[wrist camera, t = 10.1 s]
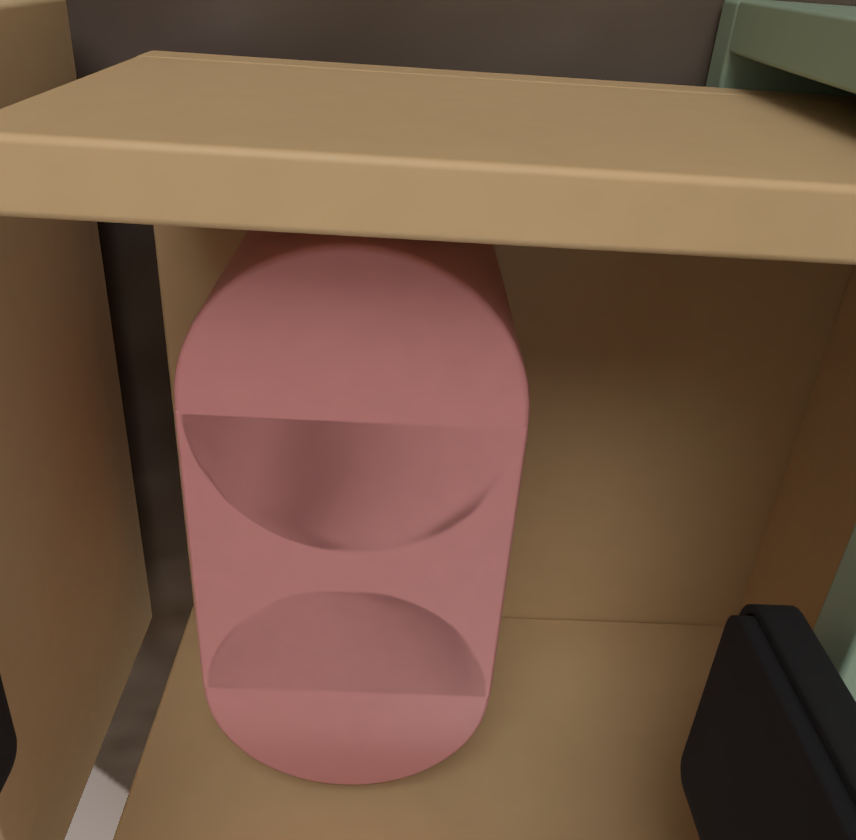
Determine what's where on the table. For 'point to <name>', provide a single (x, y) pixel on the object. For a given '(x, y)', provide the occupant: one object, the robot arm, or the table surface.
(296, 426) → the pink notched rounded block
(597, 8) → the table surface
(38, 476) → the drawer
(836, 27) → the cabinet
